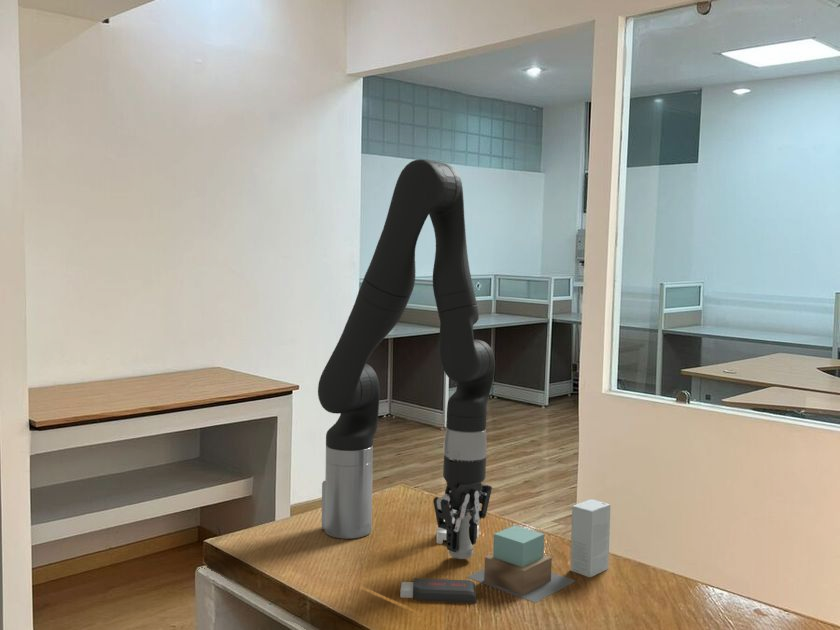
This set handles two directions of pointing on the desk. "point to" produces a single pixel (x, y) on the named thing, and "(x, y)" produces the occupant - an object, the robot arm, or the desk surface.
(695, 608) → the desk surface
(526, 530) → the teal block
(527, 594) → the mat
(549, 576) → the walnut block
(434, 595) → the usb drive
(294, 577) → the desk surface
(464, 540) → the rook chess piece
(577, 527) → the skincare box
